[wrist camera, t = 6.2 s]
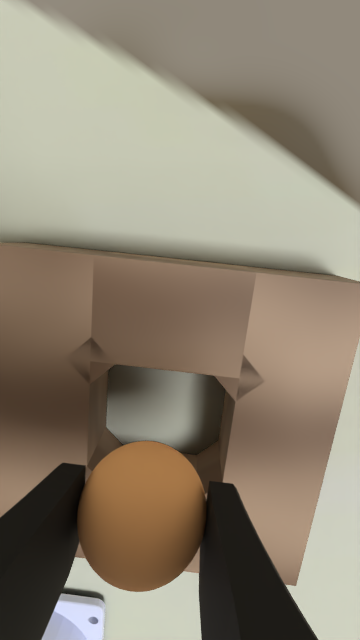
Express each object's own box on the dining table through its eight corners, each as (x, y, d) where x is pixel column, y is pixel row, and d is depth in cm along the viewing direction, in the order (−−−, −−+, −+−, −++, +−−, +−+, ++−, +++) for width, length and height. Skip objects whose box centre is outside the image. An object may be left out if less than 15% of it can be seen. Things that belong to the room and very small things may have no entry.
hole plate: (279, 529, 15) (295, 585, 13) (29, 497, 15) (-2, 546, 13) (337, 275, 12) (373, 285, 10) (24, 242, 12) (-18, 243, 10)
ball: (198, 514, 10) (199, 639, 7) (98, 501, 10) (53, 619, 7) (211, 424, 9) (219, 519, 6) (101, 411, 9) (53, 498, 6)
